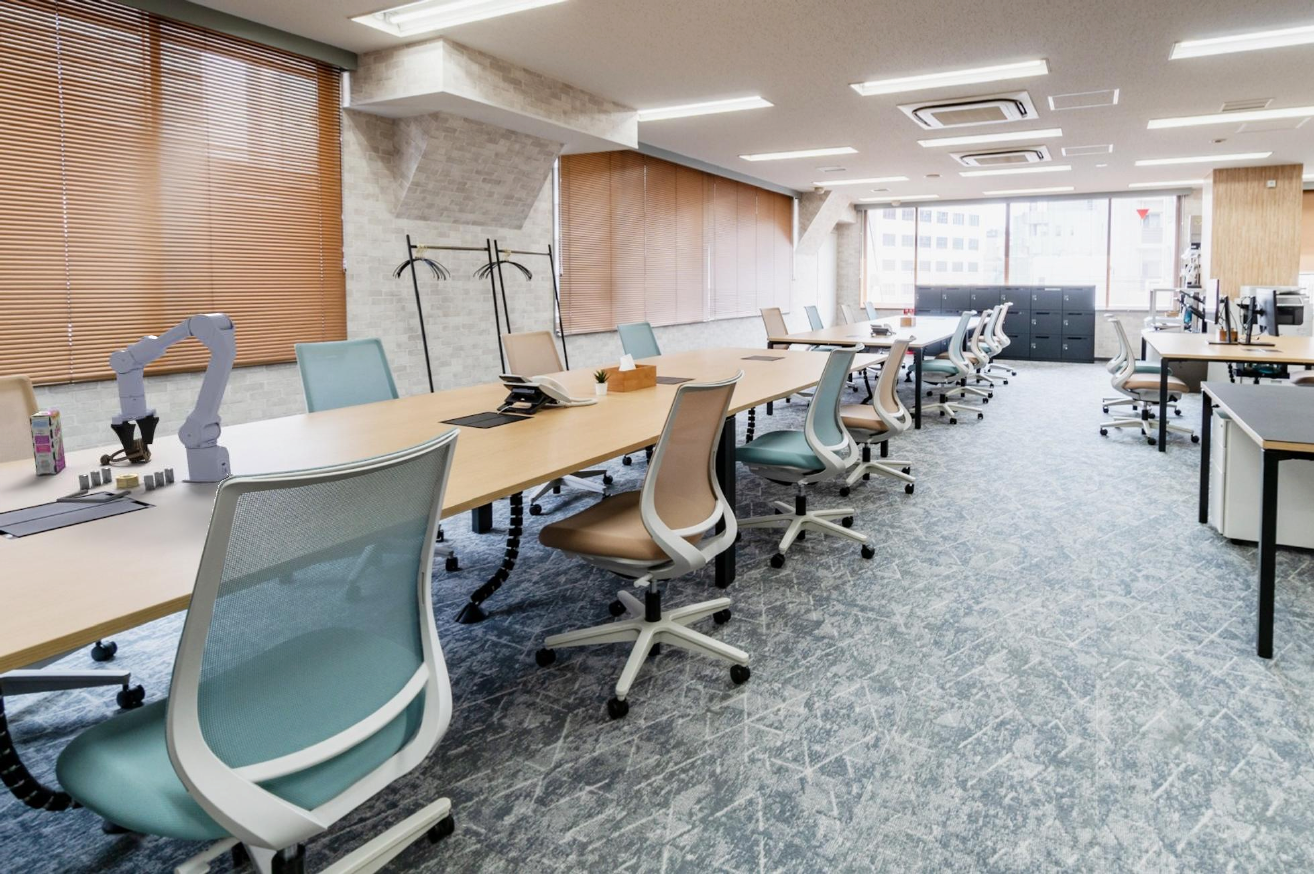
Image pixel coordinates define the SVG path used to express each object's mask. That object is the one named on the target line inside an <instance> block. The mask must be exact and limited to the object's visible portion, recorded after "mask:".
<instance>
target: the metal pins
mask: <svg viewBox="0 0 1314 874" xmlns="http://www.w3.org/2000/svg"><path fill="white" fill-rule="evenodd" d="M111 469H112V468H111V467H103V468H101V470H95V471H89V472H90V473H89V474H90V476H89V474H79V475H78V483H79V489H80V490H79V491H83V490H90V488H91V486H92V487H99V486H102V483H109V482H110V483H111V482H113V478H112V476H113V475H112V470H111ZM163 470H164V471H154V472H153V473H154V474H148V475H144V476H143V481H144V489H145V491H153V490H155V488H156V487H157V488H158V487H159V488H160V487H164V486H165V484H172V483H174V482H175V476H174V475H175V474H174V473H175V472H174V468H171V467H168V468H164V469H163ZM100 471H101V473H100ZM89 477H90V478H89ZM101 477H102V480H101ZM89 479H90V480H91V486H90V480H89ZM101 481H102V482H101Z"/></svg>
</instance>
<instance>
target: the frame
mask: <svg viewBox="0 0 1314 874" xmlns="http://www.w3.org/2000/svg"><path fill="white" fill-rule="evenodd" d="M87 493H89V489H86V490H79V491H77V492H73V493H71V494H68V495H65V496H61V497H59V498H56V502H61V503H63V502H64V503H65V502H66V503H67V502H70V503H72V502H73V503H106V502H110V501H112V500H115V499H118V498H121V497H123V496H126V495H128V494H129V495H130V494H131V493H132V492H131V490H124V491H121V492H118V493H116V494H113V495H110V496H107V497H105V498H96V497H95V498H93V497H92V498H86V497H84V498H80V497H79V498H78V496H82V495H85V494H87ZM76 497H77V498H76Z"/></svg>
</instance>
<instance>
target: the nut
mask: <svg viewBox="0 0 1314 874" xmlns="http://www.w3.org/2000/svg"><path fill="white" fill-rule="evenodd" d="M115 482H116V488H123V489H124V488H125V489H126V488H133V487H138V486H139V485H140V480H139V474H136V473H135V474H132V473H131V474H130V473H129V474H123V475H122V474H121V475H117V476H116V477H115Z"/></svg>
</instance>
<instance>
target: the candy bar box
mask: <svg viewBox="0 0 1314 874" xmlns="http://www.w3.org/2000/svg"><path fill="white" fill-rule="evenodd" d="M28 418H29V424H30V432H31V440H32V447H33V449H32V450H33V454H34V455H33V456H34V463H35V471H36V476H49V475H58V474H59V473H60V472H61V471H62V470H64V468H65V467H67V466H66V456H65V449H64V448H65V447H64V442H63V441H64V440H63V431H62V424H61V423H62V422H61V414H60V410H43V411H42V410H40V411H38V412H36V413H33V414H31V415H29V416H28Z"/></svg>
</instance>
